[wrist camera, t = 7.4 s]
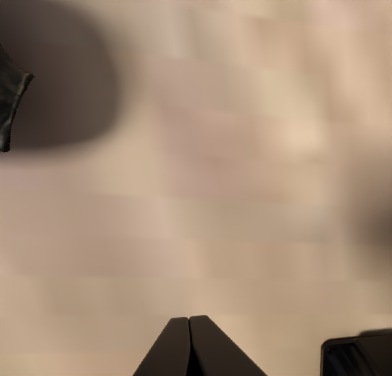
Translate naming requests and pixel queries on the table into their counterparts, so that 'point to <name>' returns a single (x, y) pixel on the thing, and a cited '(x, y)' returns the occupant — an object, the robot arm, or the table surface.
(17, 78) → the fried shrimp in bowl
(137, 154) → the table surface
